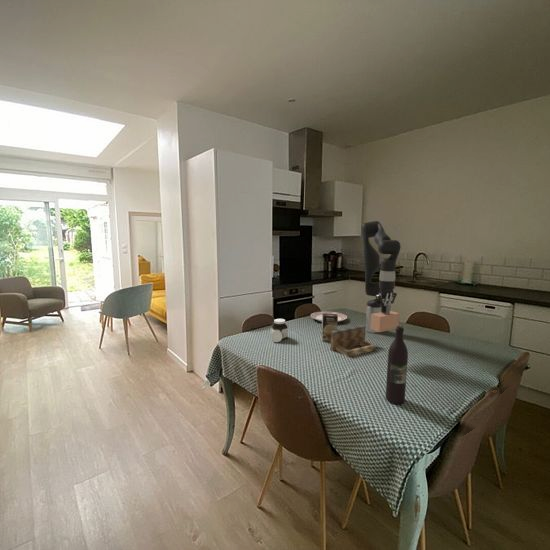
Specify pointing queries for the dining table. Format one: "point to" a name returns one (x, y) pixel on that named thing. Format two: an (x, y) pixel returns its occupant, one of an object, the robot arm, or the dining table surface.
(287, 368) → the dining table surface
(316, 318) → the dinner plate
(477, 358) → the dining table surface
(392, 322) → the tan box with handle
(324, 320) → the coffee box
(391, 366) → the wine bottle
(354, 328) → the brown grey open box
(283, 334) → the spread jar
